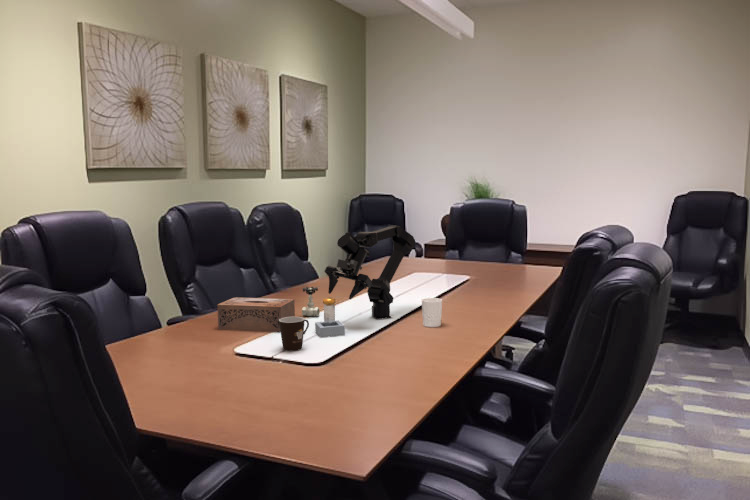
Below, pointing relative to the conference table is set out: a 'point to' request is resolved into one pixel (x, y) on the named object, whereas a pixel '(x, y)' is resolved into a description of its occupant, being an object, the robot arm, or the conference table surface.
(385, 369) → the conference table surface
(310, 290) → the valve
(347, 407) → the conference table surface
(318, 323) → the grey square hollow block
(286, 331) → the coffee mug
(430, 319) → the white cup
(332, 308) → the gold-capped bottle
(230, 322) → the tissue box cover
